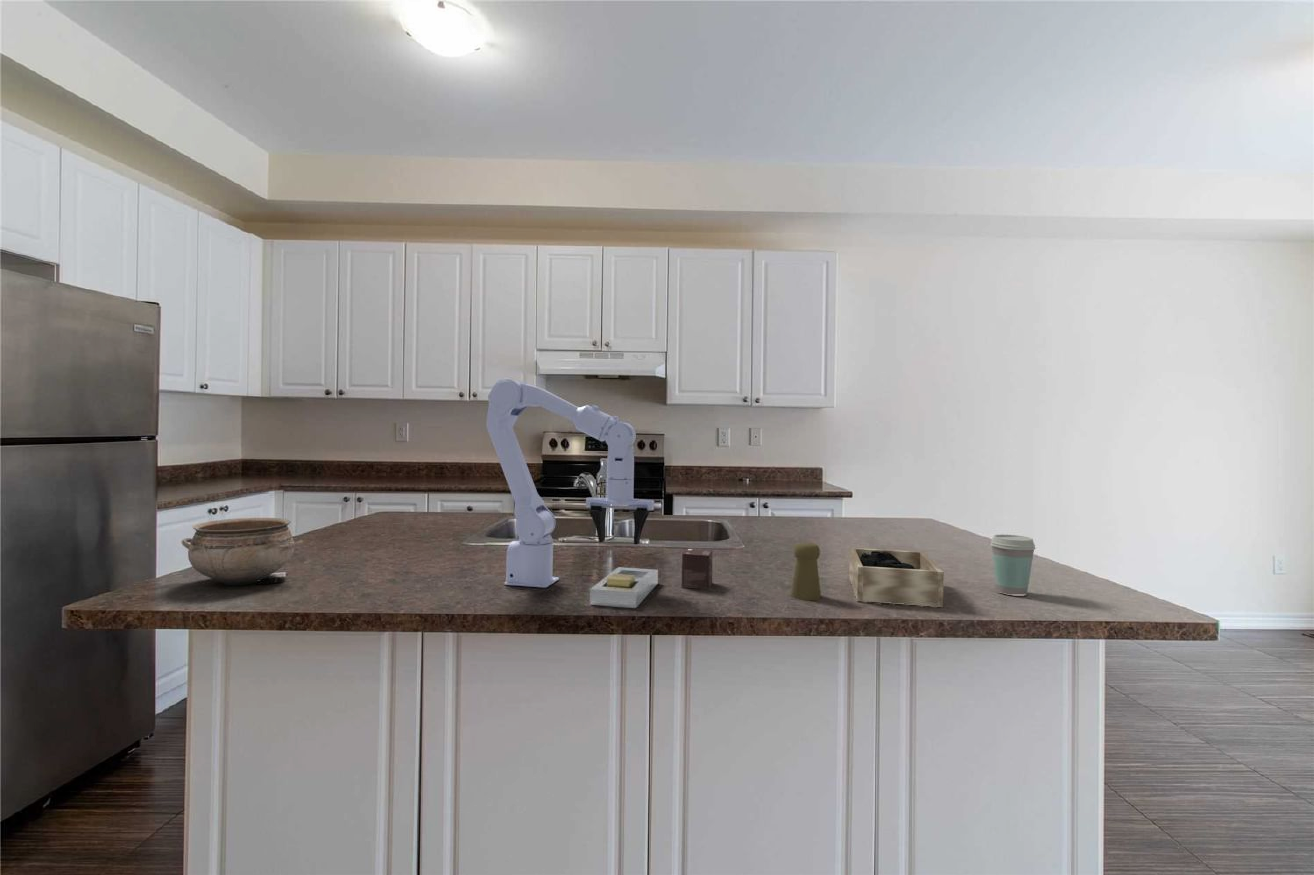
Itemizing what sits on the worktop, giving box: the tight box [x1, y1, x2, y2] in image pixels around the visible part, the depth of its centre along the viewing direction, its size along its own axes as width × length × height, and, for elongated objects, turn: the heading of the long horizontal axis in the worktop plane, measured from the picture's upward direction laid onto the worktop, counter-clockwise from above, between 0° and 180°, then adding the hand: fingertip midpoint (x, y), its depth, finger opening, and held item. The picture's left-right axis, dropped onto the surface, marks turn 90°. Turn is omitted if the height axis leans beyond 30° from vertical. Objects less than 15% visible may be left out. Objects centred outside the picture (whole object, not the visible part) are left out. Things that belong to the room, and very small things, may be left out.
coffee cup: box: [990, 534, 1037, 594], centre depth 141 cm, size 8×8×12 cm
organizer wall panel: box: [848, 547, 863, 602], centre depth 142 cm, size 1×21×7 cm, turn 168°
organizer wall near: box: [862, 566, 938, 606], centre depth 131 cm, size 14×1×7 cm, turn 78°
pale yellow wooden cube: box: [607, 574, 635, 589], centre depth 131 cm, size 4×4×4 cm
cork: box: [790, 541, 822, 601], centre depth 136 cm, size 6×6×11 cm
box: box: [681, 548, 713, 590], centre depth 143 cm, size 6×6×7 cm
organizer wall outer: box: [919, 551, 945, 607], centre depth 139 cm, size 1×21×7 cm, turn 168°
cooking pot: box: [181, 517, 304, 586], centre depth 139 cm, size 25×19×12 cm
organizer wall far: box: [854, 547, 921, 570], centre depth 150 cm, size 14×1×7 cm, turn 78°
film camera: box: [859, 551, 915, 569], centre depth 139 cm, size 15×10×9 cm, turn 17°
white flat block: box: [589, 566, 659, 609], centre depth 135 cm, size 9×20×3 cm, turn 168°
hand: (619, 542), depth 141 cm, fingers open, 7 cm apart
